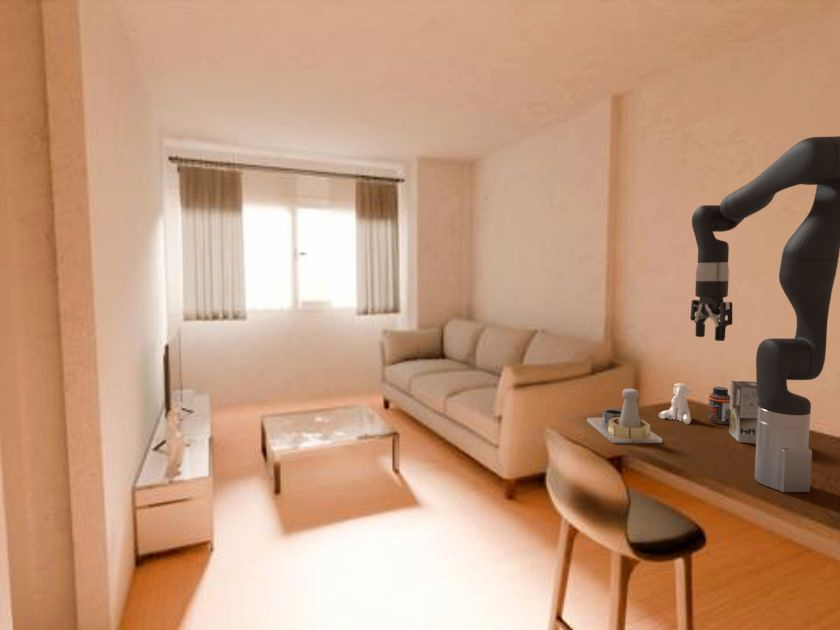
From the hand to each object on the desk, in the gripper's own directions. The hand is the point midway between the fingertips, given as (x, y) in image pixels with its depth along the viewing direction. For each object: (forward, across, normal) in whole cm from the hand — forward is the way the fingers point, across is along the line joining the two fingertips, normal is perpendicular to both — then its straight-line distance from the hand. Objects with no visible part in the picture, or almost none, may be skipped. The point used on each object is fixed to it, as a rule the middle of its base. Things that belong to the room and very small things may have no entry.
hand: (709, 338), depth 125 cm
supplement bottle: (+30, +20, -17) cm, 40 cm away
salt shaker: (+29, +7, +18) cm, 35 cm away
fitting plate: (+30, +12, +18) cm, 37 cm away
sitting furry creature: (+30, +24, -6) cm, 39 cm away
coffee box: (+30, +5, -15) cm, 34 cm away
